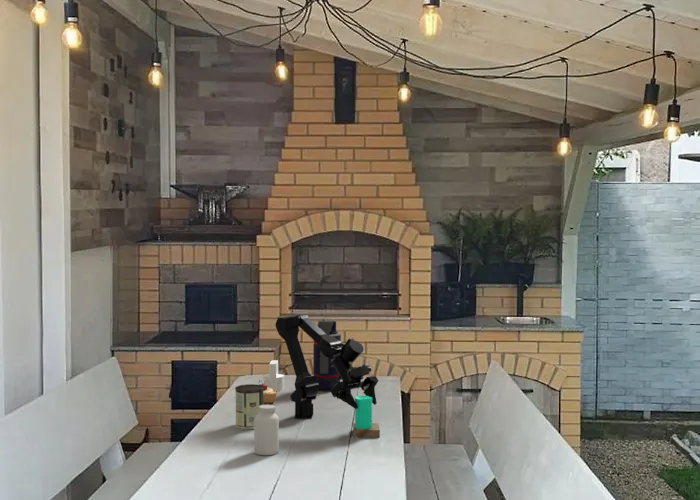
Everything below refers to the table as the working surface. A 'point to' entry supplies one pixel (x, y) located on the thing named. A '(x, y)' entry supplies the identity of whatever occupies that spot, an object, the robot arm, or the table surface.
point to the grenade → (325, 359)
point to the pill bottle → (266, 431)
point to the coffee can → (248, 404)
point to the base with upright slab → (274, 377)
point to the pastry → (268, 394)
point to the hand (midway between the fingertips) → (366, 406)
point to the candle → (363, 412)
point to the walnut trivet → (367, 431)
